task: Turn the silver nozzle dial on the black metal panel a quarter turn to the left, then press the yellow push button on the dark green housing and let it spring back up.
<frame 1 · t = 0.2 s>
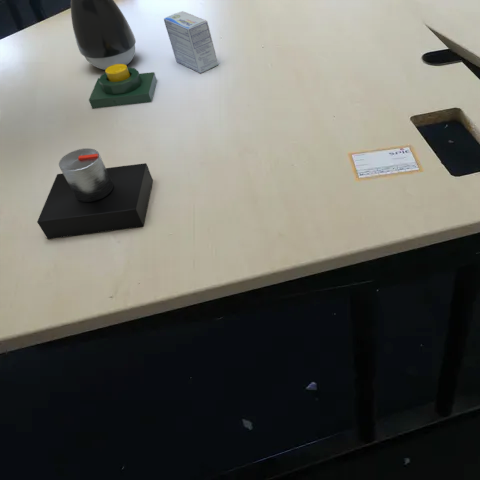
medicine box: (197, 65, 102), on the table
nozzle dial: (86, 174, 68), point 6 cm above the table, hinge at 0.0°
yellow push button: (117, 73, 92), point 4 cm above the table, slide at 0.1 cm
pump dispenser: (115, 64, 104), on the table
dial panel: (103, 208, 72), on the table
button housing: (125, 94, 95), on the table
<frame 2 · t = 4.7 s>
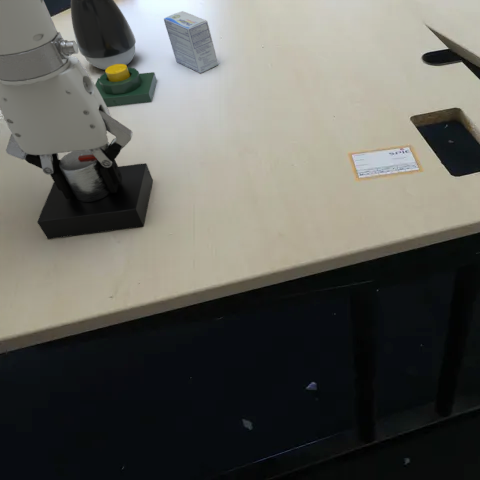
hand: (93, 188, 70), 3 cm above the table, tool pointing down, fingers closed on nozzle dial, 4 cm apart
nozzle dial: (86, 174, 68), point 6 cm above the table, hinge at -0.2°, touching gripper
everything else where it was.
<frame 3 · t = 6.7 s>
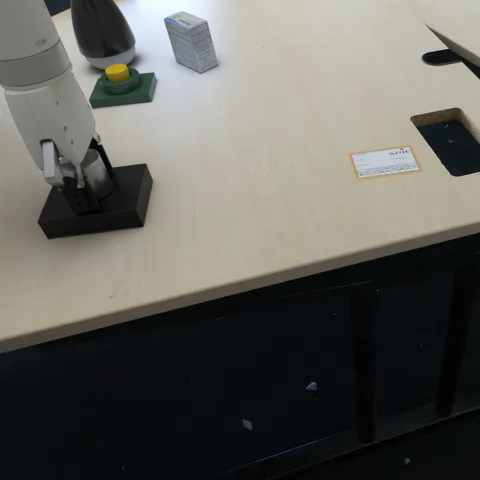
hand: (93, 189, 70), 3 cm above the table, tool pointing down, fingers open, 7 cm apart
nozzle dial: (86, 174, 68), point 6 cm above the table, hinge at 87.7°
everything else where it was.
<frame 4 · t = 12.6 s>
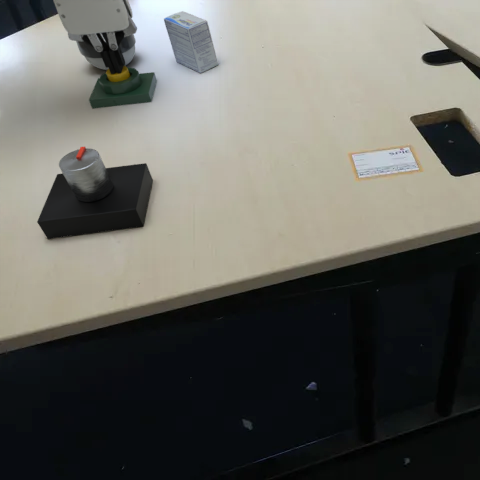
hand: (117, 69, 91), 5 cm above the table, tool pointing down, fingers closed
yellow push button: (118, 75, 92), point 4 cm above the table, slide at -0.2 cm, touching gripper
everything else where it was.
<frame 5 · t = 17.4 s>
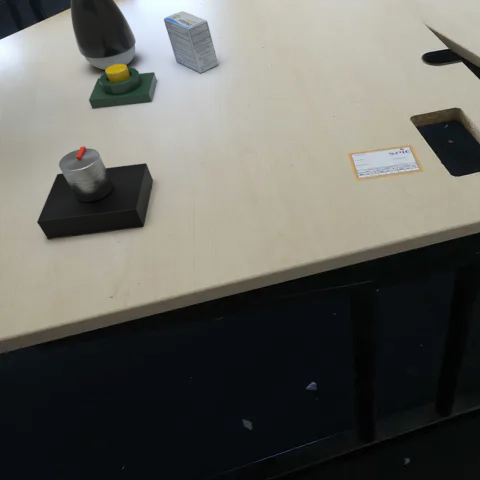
yellow push button: (117, 73, 92), point 4 cm above the table, slide at 0.1 cm
everything else where it was.
at the end: nozzle dial at +88° (first picture: +0°); yellow push button pushed in 1.1 cm at the most during the clip, back to where it started at the end; yellow push button slide at 0.1 cm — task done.
